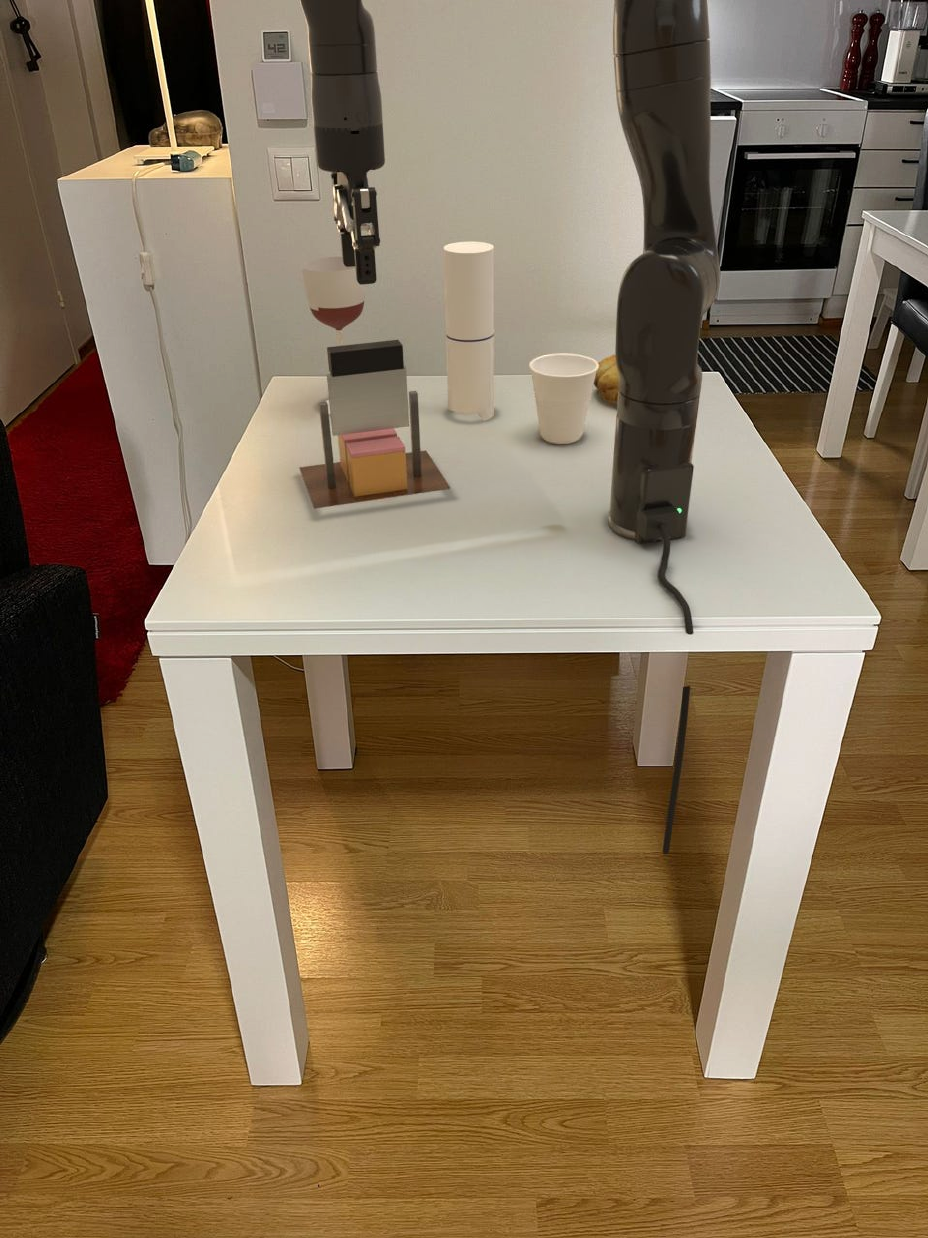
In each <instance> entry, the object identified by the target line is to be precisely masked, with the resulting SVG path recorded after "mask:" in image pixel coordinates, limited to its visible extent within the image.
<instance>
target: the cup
mask: <svg viewBox="0 0 928 1238" xmlns="http://www.w3.org/2000/svg"><path fill="white" fill-rule="evenodd" d="M528 363H529V364H528V368H529V370H530V374H531V379H532V387H533V392H534V398H535V407H536V414H537V420H538V428H539V435H540V437H541V438H542V439H543V440H544V441H545V442H548V443H551V444H553V445H569V444H573V443H575V442H577V441H579V440H580V439H581V438H582V436H583V433H584V428H585V425H586V418H587V415H588V411H589V406H590V402H591V396H592V394H593V389H594V386H595V385H594V380H595V376H596V371H597V370H598V368H599V364H598V363H599V361H597V360H595V359H594V358H592V357H589V356H586V355H583V354H577V353H564V352H563V353H562V352H561V353H549V354H545V355H544V354H543V355H540V356H537V357H534V358H533V359H531V360H530V362H528Z"/></svg>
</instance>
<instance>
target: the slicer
mask: <svg viewBox="0 0 928 1238" xmlns="http://www.w3.org/2000/svg"><path fill="white" fill-rule="evenodd" d="M408 409H409V428H410V443H411V445H410V447H411V452H405V453H406V472H407V489H406V490H399V491H392V492H385V493H378V494H371V495H365V496H358V497H355V496H354V494H353V492H352V490H351V487H350V484H349V482H348V481H347V479H346V476H345V474H344V472H343V470H342V468H341V464H340V461H337V462H334V453H333V445H332V444H333V443H332V435H331V434H332V431H331V425H330V424H331V421H330V414H329V412H328V404H327V402H325V401H319V402H318V410H319V418H320V419H319V421H320V430H321V438H322V449H323V458H324V459H323V460H324V463H323V464H314V465H308V466H307V465H306V466H300V467H298V468H299V471H300V474H301V476H302V479H303V482H304V485H305V488H306V490H307V493H308V496H309V499H310V501H311V504H312V507H313V509H320V508H321V509H323V508H328V507H334V506H342V505H349V504H356V503H363V502H369V501H376V500H377V501H378V500H383V499H389V498H398V497H404V496H411V495H417V494H425V493H431V492H437V491H445V490H452V487H451V486H450V484H449V483H448V482H447V480H446V478H445V477H444V476H443V474H442V473H441V470H440V469H439V468H438V466H437V465H436V463H435V462H434V460H433V459H432V457H431V456H430V454H429V452H428V450H421V432H420V431H421V430H420V411H419V410H420V409H419V393H418V391H417V390H411V391H410V390H409V391H408Z"/></svg>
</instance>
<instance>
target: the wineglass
mask: <svg viewBox="0 0 928 1238" xmlns="http://www.w3.org/2000/svg"><path fill="white" fill-rule="evenodd" d="M300 270H301V271H300V272H301V279H302V283H303V288H304V293H305V296H306V300H307V302H308V306H309V310H310V312H311V314H312V316H313V317H314V318H315V319H316V320H317V321H318V322H319V323H321V324H323V325H326V326H328V327H330V328H333V329H335V331H336V340H337V346H344V339H343V329H345V328H346V327H347V326H349V325H351V324H352V323H353V322H355V321H357V319H359V317H360V316H361V315H362V313H363V310H364V305H365V299H366V290H367V289H366V286H367V284H364V285H361V284H359V283H358V282H357V280H356V268H355V266H353V267H346V266H345V265H344V264H343V260H342V256H327V257H319V258H314V259H313V258H312V259H310V260H307V261H304V262H302V263H301V265H300ZM324 402H327V404H328V412H329V415H330V404H329V399H328V400H324Z"/></svg>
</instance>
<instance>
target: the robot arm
mask: <svg viewBox="0 0 928 1238" xmlns="http://www.w3.org/2000/svg"><path fill="white" fill-rule="evenodd" d="M299 3H300V6H301V9H302V12H303V15H304V19H305V23H306V26H307V43H308V45H307V47H308V54H309V55H308V57H309V66H310V73H311V74H310V82H311V83H310V85H311V86H310V89H311V90H310V102H311V103H310V104H311V113H312V114H311V115H312V123H313V124H312V125H313V126H312V127H313V136H314V144H315V145H314V146H315V147H314V148H315V158H316V164H317V167H318V169H320V170H321V171H324V172H327V173H330V179H331V186H332V187H331V188H332V196H333V197H332V198H333V199H332V201H333V213H334V216H333V221H334V222H335V224H336V228H337V231H338V233H339V234H340V235H339V237H340V246H341V247H340V248H341V257H342V260H343V264H344V265H345V266H346V267H353V266H355V268H356V280H357V282H358V283H359V284H361V285H364V284H366V285H373V284H375V283H376V282H377V279H378V278H377V265H376V249H377V247H380V243H381V238H380V228H379V215H378V201H377V195H378V193H377V190H376V187H375V186H371V187H370V186H369V179H368V172H370V171H376V170H379V169H381V168H383V167H384V165H385V163H386V157H385V154H386V153H385V139H384V122H383V105H382V93H381V87H380V81H379V74H378V73H379V72H378V60H377V43H376V31H375V30H376V29H375V23H374V19H373V16H372V15H371V12H369V10H368V9H366V8H365V6H364V4H363V0H299ZM613 4H614V5H613V21H612V53H613V69H614V83H615V95H616V105H617V111H618V116H619V120H620V124H621V128H622V132H623V135H624V137H625V141H626V144H627V147H628V151H629V153H630V156H631V158H632V161H633V164H634V167H635V170H636V174H637V176H638V181H639V184H640V190H641V195H642V196H641V197H642V204H643V205H642V207H643V210H642V211H643V247H642V253H641V254H639V256H637V257H635V259H633V260H632V262H631V263H629V265H628V266H627V268H626V269H625V271H624V272H623V274H622V278H621V280H620V283H619V287H618V294H617V303H616V318H615V319H616V321H615V348H614V349H615V350H614V351H615V352H614V355H615V361H616V367H617V371H618V374H619V390H618V403H616V404H617V405H616V419H615V430H614V443H613V455H612V456H613V458H612V459H613V460H612V471H611V485H610V499H609V500H610V502H609V511H608V517H607V523H608V526H609V528H611V530H612V531H614V532H615V533H616V534H618V535H620V536H622V537H625V538H628V539H632V540H634V541H636V542H637V543H638V544H648V543H653V542H660V541H662V545H663V546H662V554H661V559H660V563H659V564H660V565H659V568H658V571H657V577H658V578H657V579H658V581H659V583H660V584H661V586H663V588H665V590H667V591H668V592H669V593H671V594H672V595H673V597H674V598H675V600H676V601H677V603H678V604H679V606H680V608H681V610H682V614H683V619H684V627H685V633H686V635H690V636H691V635H693V634H694V624H693V617H692V612H691V608H690V605H689V603H688V602H687V600H686V599H685V598H684V596H683V594H682V593H681V592H680V590H678V589H677V587H676V586H675V585H673V584H672V583H670V582H669V580H668V579H667V576H666V572H667V568H668V562H669V558H670V554H671V542H670V540H671V539H677V538H683V537H686V534H687V525H688V519H689V518H688V517H689V510H690V502H691V494H692V485H693V477H694V469H695V466H694V464H693V463H692V462H693V453H694V445H695V436H696V429H697V420H698V414H699V405H700V397H701V391H702V383H703V370H702V367H701V366H700V365H699V363H698V355H699V343H700V334H701V333H700V332H701V324H702V317H703V316H704V315H705V314H706V313H707V312H708V311H709V309H710V308H711V307H712V305H713V304H714V302H715V300H716V298H717V295H718V294H719V293H718V292H719V288H720V284H721V267H720V257H719V250H718V243H717V237H716V228H715V220H714V213H713V206H712V194H711V145H712V144H711V143H712V142H711V141H712V140H711V139H712V138H711V137H712V133H711V132H712V127H711V126H712V124H711V121H712V120H711V119H712V118H711V117H712V116H711V115H712V114H711V113H712V111H711V91H712V90H711V88H712V87H711V84H712V83H711V81H712V80H711V79H712V76H711V73H712V72H711V40H710V36H711V35H710V22H709V7H708V0H614V2H613ZM362 231H363V232H364V231H366V232H367V233H368V234H366V235H365V234H364V235H362ZM681 693H682V694H681V705H680V715H679V725H678V726H679V727H678V735H677V744H676V752H675V760H674V767H673V774H672V781H671V788H670V794H669V802H668V808H667V816H666V823H665V829H664V838H663V845H662V853H663V854H664V855H668V854H670V848H671V841H672V833H673V828H674V827H673V826H674V819H675V812H676V806H677V800H678V792H679V786H680V780H681V773H682V766H683V758H684V752H685V744H686V736H687V735H686V734H687V726H688V716H689V706H690V695H691V694H690V693H691V685H686V686H682V691H681Z"/></svg>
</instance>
